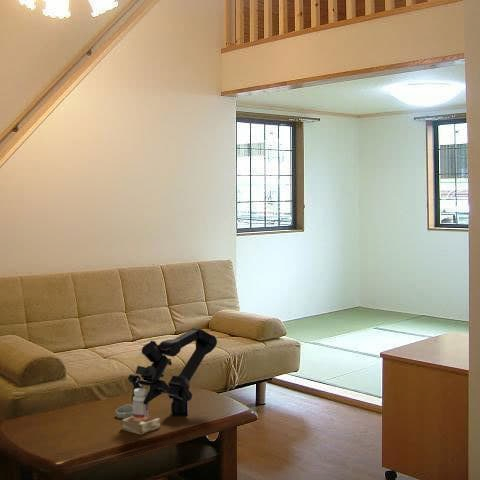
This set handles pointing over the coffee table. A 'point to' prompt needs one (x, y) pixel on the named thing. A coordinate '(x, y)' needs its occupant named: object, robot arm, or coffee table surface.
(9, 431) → the coffee table surface
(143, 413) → the pill bottle
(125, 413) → the wristwatch
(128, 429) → the open tray
